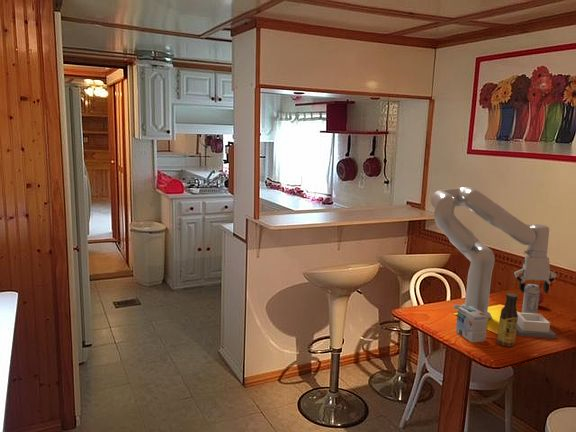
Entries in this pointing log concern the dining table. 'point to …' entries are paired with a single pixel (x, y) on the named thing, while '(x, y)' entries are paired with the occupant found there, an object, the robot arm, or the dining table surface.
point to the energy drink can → (531, 299)
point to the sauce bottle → (508, 321)
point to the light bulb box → (471, 324)
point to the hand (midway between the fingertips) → (533, 291)
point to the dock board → (533, 326)
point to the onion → (540, 298)
